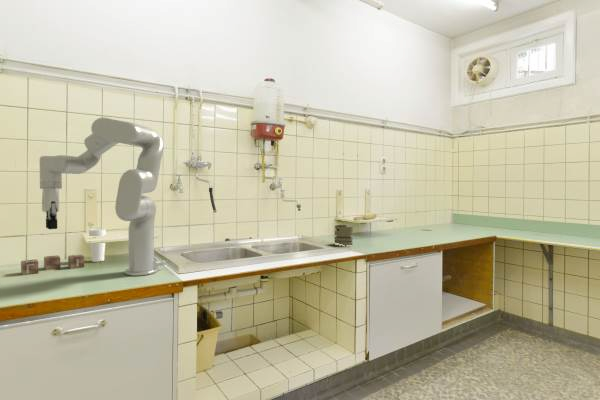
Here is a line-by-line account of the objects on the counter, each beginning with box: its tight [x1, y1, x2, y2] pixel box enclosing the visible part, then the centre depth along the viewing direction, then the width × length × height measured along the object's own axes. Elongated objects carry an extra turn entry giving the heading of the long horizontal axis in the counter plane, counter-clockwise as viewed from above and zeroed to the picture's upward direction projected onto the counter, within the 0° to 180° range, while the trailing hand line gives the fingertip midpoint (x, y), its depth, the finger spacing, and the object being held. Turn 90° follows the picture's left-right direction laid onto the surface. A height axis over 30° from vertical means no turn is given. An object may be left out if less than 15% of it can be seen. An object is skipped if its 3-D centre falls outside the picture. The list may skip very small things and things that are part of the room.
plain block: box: [43, 255, 61, 271], centre depth 147 cm, size 5×5×5 cm
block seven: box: [20, 259, 39, 276], centre depth 139 cm, size 5×5×5 cm
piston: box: [333, 224, 354, 246], centre depth 216 cm, size 11×12×11 cm
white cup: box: [88, 228, 107, 263], centre depth 162 cm, size 7×7×15 cm
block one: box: [67, 254, 85, 270], centre depth 150 cm, size 5×5×5 cm
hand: (51, 227), depth 147 cm, fingers open, 4 cm apart
